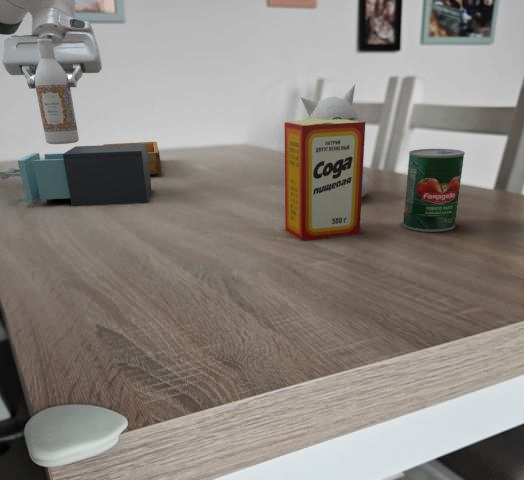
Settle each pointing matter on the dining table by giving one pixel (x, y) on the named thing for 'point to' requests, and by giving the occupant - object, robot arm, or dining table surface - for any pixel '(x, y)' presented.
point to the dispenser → (108, 174)
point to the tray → (150, 156)
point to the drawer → (41, 176)
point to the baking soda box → (323, 177)
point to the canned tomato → (432, 189)
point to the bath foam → (54, 97)
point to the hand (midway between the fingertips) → (52, 85)
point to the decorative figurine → (335, 115)
